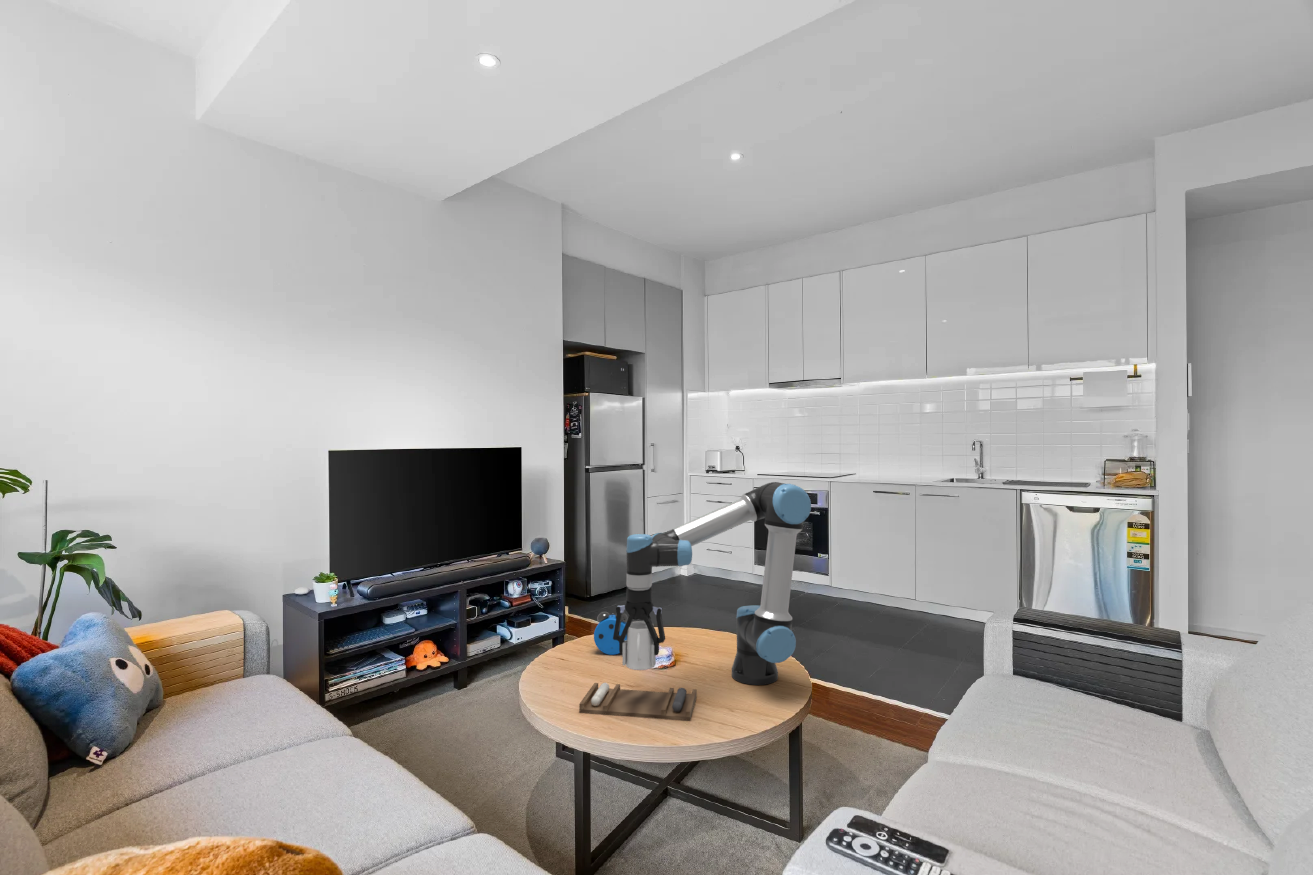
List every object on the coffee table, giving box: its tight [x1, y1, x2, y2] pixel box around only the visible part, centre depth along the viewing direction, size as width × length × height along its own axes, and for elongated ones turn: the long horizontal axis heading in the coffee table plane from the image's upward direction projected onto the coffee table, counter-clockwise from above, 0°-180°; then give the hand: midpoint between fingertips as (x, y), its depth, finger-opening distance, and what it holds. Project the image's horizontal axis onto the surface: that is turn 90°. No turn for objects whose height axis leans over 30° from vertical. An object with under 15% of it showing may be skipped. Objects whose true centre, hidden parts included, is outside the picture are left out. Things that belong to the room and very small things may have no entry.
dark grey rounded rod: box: [672, 687, 688, 712], centre depth 182 cm, size 3×13×3 cm, turn 170°
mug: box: [625, 620, 655, 671], centre depth 184 cm, size 12×8×12 cm
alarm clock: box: [593, 611, 629, 656], centre depth 230 cm, size 13×6×15 cm, turn 85°
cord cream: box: [591, 682, 610, 706], centre depth 186 cm, size 3×13×3 cm, turn 170°
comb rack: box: [578, 682, 698, 722], centre depth 184 cm, size 32×16×2 cm, turn 80°
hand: (639, 664), depth 184 cm, fingers closed on mug, 8 cm apart
